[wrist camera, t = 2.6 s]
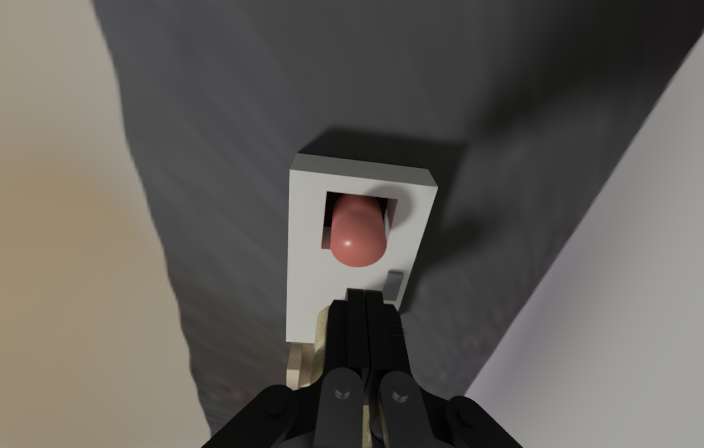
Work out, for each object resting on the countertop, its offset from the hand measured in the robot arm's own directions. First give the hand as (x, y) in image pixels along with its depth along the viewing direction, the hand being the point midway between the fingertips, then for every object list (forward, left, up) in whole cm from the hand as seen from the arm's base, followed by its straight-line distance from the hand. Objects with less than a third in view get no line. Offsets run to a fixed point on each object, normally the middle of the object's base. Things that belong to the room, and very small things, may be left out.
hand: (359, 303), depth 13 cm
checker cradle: (+4, 0, -8) cm, 9 cm away
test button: (0, 0, -7) cm, 7 cm away
